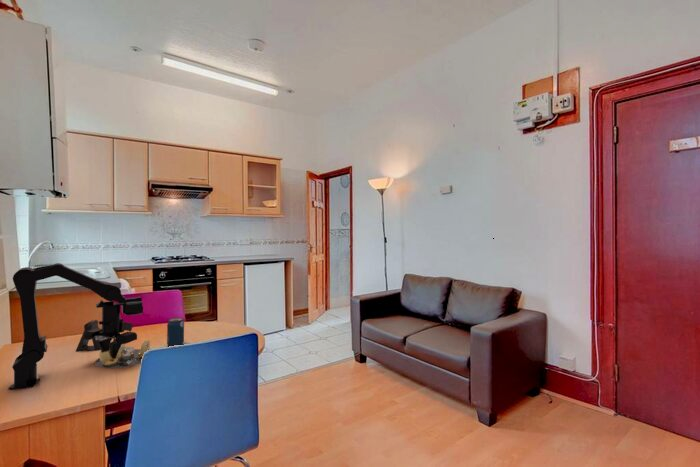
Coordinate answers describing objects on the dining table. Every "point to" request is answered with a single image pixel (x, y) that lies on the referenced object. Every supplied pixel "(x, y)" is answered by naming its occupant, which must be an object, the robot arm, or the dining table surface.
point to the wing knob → (109, 358)
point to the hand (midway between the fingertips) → (110, 358)
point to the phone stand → (84, 343)
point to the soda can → (175, 332)
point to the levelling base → (123, 363)
